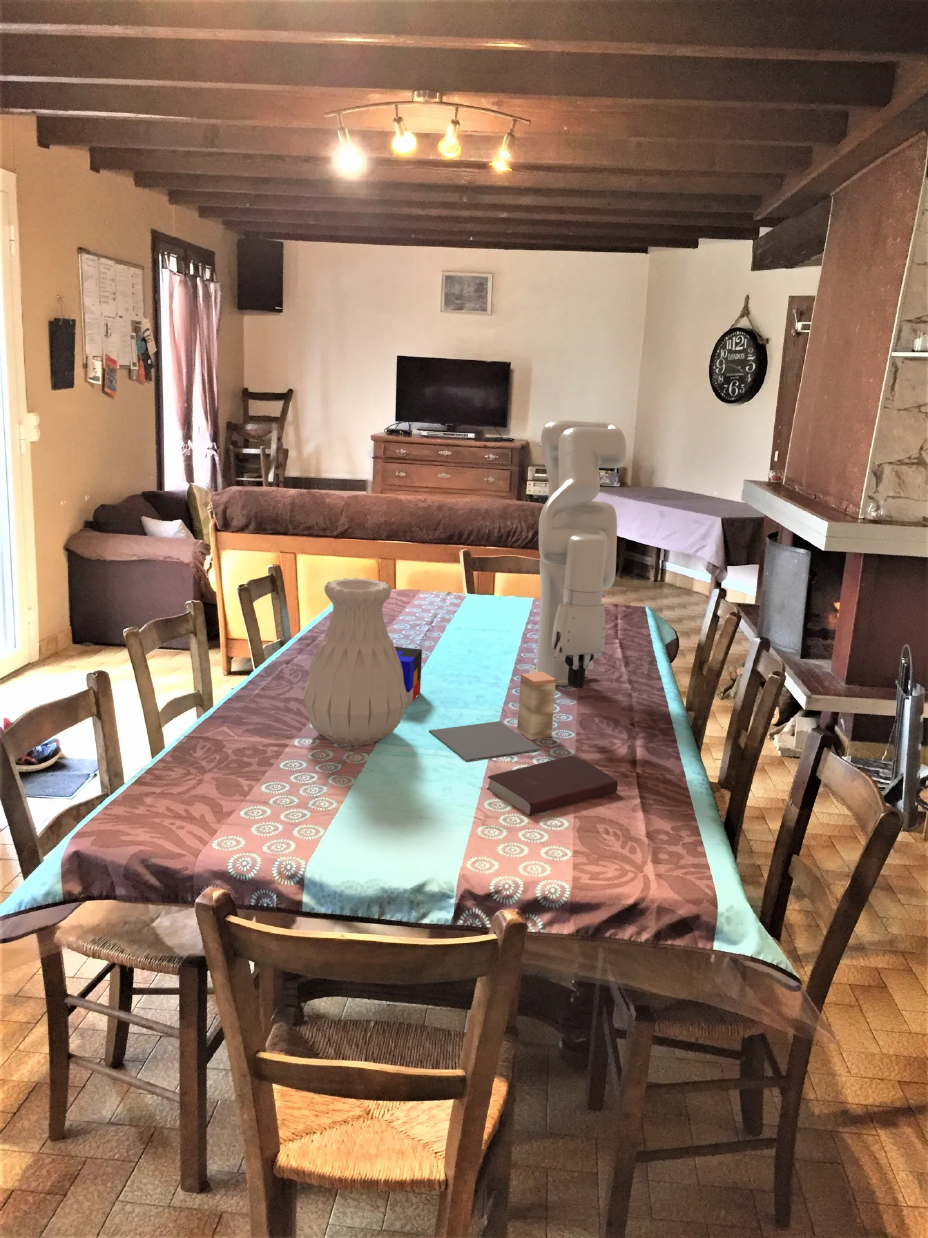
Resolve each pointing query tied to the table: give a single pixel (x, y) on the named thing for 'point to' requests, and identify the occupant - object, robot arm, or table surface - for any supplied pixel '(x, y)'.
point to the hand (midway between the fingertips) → (575, 686)
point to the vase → (356, 668)
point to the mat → (483, 740)
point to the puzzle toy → (411, 670)
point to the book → (552, 784)
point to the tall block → (536, 705)
